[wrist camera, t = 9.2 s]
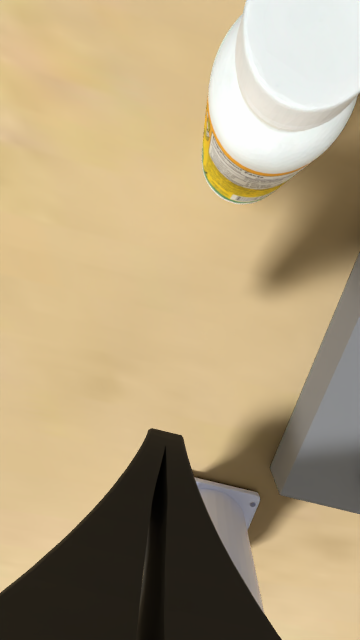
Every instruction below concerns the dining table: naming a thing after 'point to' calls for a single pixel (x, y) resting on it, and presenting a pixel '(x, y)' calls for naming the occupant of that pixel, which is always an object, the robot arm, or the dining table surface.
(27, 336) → the dining table surface
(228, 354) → the dining table surface
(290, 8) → the supplement bottle
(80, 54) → the dining table surface
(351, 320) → the panel
